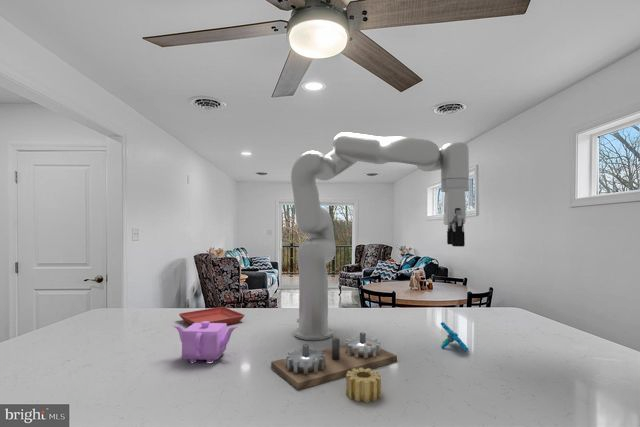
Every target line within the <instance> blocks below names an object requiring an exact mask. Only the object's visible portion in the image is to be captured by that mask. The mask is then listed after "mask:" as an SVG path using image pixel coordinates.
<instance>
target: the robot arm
mask: <svg viewBox="0 0 640 427" xmlns="http://www.w3.org/2000/svg"><path fill="white" fill-rule="evenodd" d="M331 147H332V151H330V152H328V153H327V154H324V153H323V152H320V151H316V150H309V151H306V152H304V153H302V154H301V155H300V156H298V157H297V159H296V160H295V162H294V164H293V166H292V168H291V173H290V181H291V189H292V195H293V203H294V204H293V205H294V211H295V212H294V213H295V221H296V226H297V228H298V230H299V231H300V232H301V233H303V234H307V235H308V238H307V239H305V240H303V241H302V242H301V243H300V244H299V246H298V248H297V251H296V261H297V268H298V287H299V288H298V318H297V319H296V323H297V324H298V328H296V329H295V330H294V332H293V333H294V336H295V337H296V338H298V339H301V340H305V341H321V340H327V339H329V338H331V337H332V336H333V332H334V331H333V330H332V329H331V328H330V327H329V278H328V277H329V275H328V270H327V264H329V263H331V261H333V260H334V258H335V256H336V251H337V247H336V241H335V240H336V238H335V232H334V225H333V218H332V216H331V214H330V213H329V211H328V210H327V209H326V208H324V207H321V202H320V193H319V190H318V187H317V183H316V179H317V180H320V181H328V180H331V179H333V178H335V177H337V176H338V175H340V174H342V173H343V172H344V171H346V170H348V169H349V168H351V167H352V166H354V165H355V164H356V163H357V162H363V163H368V164H375V165H384V164H387V163H400V164H407V165H413V166H416V167H417V168H418V169H419V170H420V171H423V172H432V171H439V170H440V184H441V185H440V187H441V189H440V191H441V192H442V193H444V195H443V225H445V226H447V231H446V237H447V238H446V240H447V241H446V244H448V245H451V246H452V247H459V248H460V247H461V248H462V247H463V248H464V247H465V240H466V239H465V238H466V237H465V226H464V225H465V224H466V220H467V219H466V218H467V217H466V216H467V215H466V214H467V213H466V212H467V209H466V207H467V206H466V192H468V191H470V180H469V179H470V178H469V177H470V170H469V169H470V168H469V166H470V165H469V164H470V163H469V158H470V157H469V152H470V151H469V146H468V144H467V143H465V142H462V141H461V142H460V141H459V142H458V141H455V142H449V143H445V144H443V145H442V147H439V146H438V145H437V143H435V142H434V141H432V140H428V139H423V138H416V137H409V136H379V135H378V136H377V135H371V134H370V135H369V134H363V133H357V132H347V131H346V132H345V131H343V132H340V133H338V134H337V135H335V137H334V138H333V140H332V146H331Z"/></svg>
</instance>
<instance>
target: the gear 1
mask: <svg viewBox="0 0 640 427" xmlns="http://www.w3.org/2000/svg"><path fill="white" fill-rule="evenodd" d="M318 351H319V352H318ZM285 359H286V367H287V370H289V371H291V370H293V371H294V373H299V372H302V373H304V374H308V373H309V372H313V373H317V372H318V370H323V369H324V366H325V354H323V352H322V351H321V350H317V349H315V348H312V349H310V345H309V344H307V343H306V344H302V349H294V351H289V352H288V353H287V354H286V355H285Z"/></svg>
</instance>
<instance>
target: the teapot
mask: <svg viewBox="0 0 640 427" xmlns="http://www.w3.org/2000/svg"><path fill="white" fill-rule="evenodd" d="M227 326H228V325H227V324H226V323H210V322H209V321H203V322H201V323H194V324H192V325H189V326H188V327H186V328H185V329H183V327H182V326H181V325H179V324H178V325H177V324H175V325H172V327H173V328H175V329H176V330H177V332H178V335H179V339H180V342H181V360H189V361H190V362H195V361H196V362H197V361H198V360H204V361H205V360H206V363H207V362H212V361H214V362H215V361H217V360H218V359H219V358H220V357H221V356H222V354H223V353H224V352H225V351H226V350H227V346H228V343H229V341H230V339H231V335H232V332H233V331H234V330H235V329H237V328H239V326H238V325H237V326H235V325H234V326H233V325H232V326H230V327H229V328H227ZM196 362H195V363H196Z"/></svg>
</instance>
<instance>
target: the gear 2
mask: <svg viewBox="0 0 640 427" xmlns="http://www.w3.org/2000/svg"><path fill="white" fill-rule="evenodd" d="M344 345H345V352H348V355H354V356H355V357H357V358H358V357H364V358H368V357H376V355H380V352H381V349H382V348H381V346H382V344H381V341H378V338H371V337H370V336H367V333H366V332H359V336H358V337H354V336H352V337H350V339H348V338H347V339H345V341H344Z"/></svg>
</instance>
